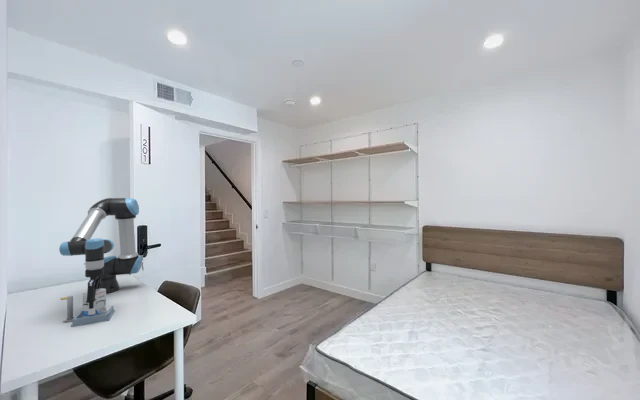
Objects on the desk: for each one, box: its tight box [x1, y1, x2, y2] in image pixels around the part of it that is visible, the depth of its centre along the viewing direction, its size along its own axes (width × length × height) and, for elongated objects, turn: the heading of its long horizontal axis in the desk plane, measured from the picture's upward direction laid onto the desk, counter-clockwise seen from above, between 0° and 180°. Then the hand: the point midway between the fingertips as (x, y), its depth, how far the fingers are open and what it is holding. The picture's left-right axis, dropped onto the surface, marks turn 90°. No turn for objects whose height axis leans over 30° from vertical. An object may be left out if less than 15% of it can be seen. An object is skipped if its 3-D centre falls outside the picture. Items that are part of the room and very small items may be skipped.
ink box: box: [82, 288, 107, 316], centre depth 140 cm, size 9×5×12 cm, turn 168°
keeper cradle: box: [60, 295, 116, 328], centre depth 138 cm, size 13×22×12 cm, turn 117°
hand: (94, 310), depth 140 cm, fingers closed on ink box, 9 cm apart
